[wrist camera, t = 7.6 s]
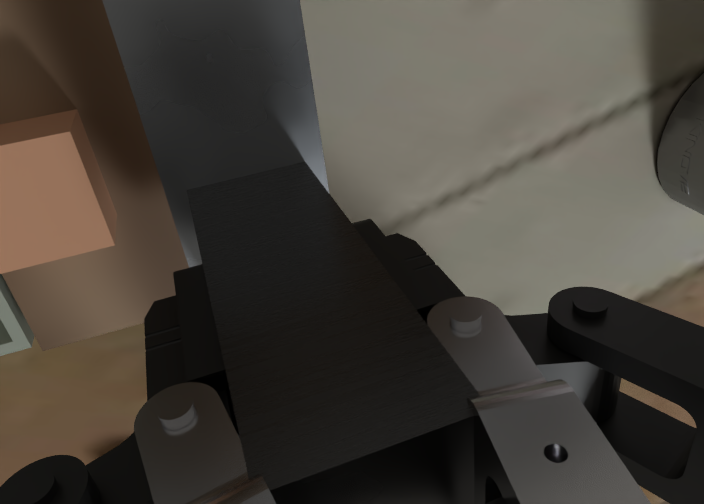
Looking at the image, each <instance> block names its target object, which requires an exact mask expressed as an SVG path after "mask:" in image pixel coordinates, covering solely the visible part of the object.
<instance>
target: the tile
mask: <svg viewBox="0 0 704 504" xmlns="http://www.w3.org/2000/svg"><path fill="white" fill-rule="evenodd" d="M116 221H117V213H116V210H115V208H114V205H113V203H112V200H111V197H110V195H109V192H108V189H107V187H106V184H105V181H104V179H103V176H102V174H101V171H100V168H99V166H98V163H97V160H96V158H95V155H94V152H93V150H92V147H91V145H90V142H89V139H88V137H87V134H86V131H85V129H84V126H83V123H82V121H81V118H80V116H79V113H78V110H77V109H76V110H71V111H65V112H60V113H55V114H50V115H45V116H40V117H35V118H30V119H25V120H20V121H15V122H10V123H5V124H0V274H2V273H6V272H10V271H14V270H18V269H22V268H26V267H30V266H34V265H38V264H42V263H46V262H50V261H54V260H58V259H62V258H66V257H70V256H74V255H78V254H82V253H86V252H90V251H94V250H98V249H102V248H106V247H110V246H114V245H115V237H116Z"/></svg>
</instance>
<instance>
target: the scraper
mask: <svg viewBox="0 0 704 504" xmlns="http://www.w3.org/2000/svg"><path fill="white" fill-rule="evenodd" d="M102 1H103V4H104V7H105V10H106V13H107V16H108V20H109V23H110V26H111V29H112V32H113V35H114V38H115V41H116V44H117V47H118V50H119V53H120V56H121V59H122V63H123V66H124V69H125V72H126V75H127V78H128V81H129V84H130V87H131V90H132V93H133V96H134V99H135V103H136V106H137V109H138V112H139V115H140V118H141V121H142V124H143V127H144V130H145V133H146V136H147V139H148V143H149V146H150V149H151V152H152V155H153V158H154V161H155V164H156V167H157V170H158V173H159V176H160V179H161V182H162V186H163V189H164V192H165V195H166V198H167V201H168V204H169V207H170V210H171V213H172V216H173V219H174V222H175V226H176V229H177V232H178V235H179V238H180V241H181V244H182V247H183V250H184V253H185V256H186V259H187V262H188V266H189V267H193V266H197V265H201V264H203V269H204V273H205V278H206V283H207V287H208V292H209V297H210V301H211V306H212V310H213V315H214V320H215V324H216V329H217V334H218V338H219V343H220V347H221V352H222V357H223V361H224V366H225V371H226V375H227V380H228V384H229V389H230V394H231V398H232V403H233V408H234V412H235V417H236V421H237V426H238V431H239V435H240V440H241V445H242V449H243V454H244V458H245V463H246V468H247V472H248V477H249V478H251V477H253V476H255V475H257V474H259V473H260V474H261V475H262V477H263V479H264V481H265V482H266V484H267V486H268V488H269V490H270V492H271V494H272V496H273V498H274V500H275V502H276V504H474V415H473V412H472V410H471V408H470V406H469V403H468V401H467V398H472V397H477V396H480V394H479V393H478V392H477V390H476V389H475V388H474V386H473V385H472V384H471V382H470V381H469V380H468V378H467V377H466V376H465V374H464V373H463V372H462V370H461V369H460V368H459V366H458V365H457V364H456V362H455V361H454V360H453V358H452V357H451V356H450V354H449V353H448V352H447V350H446V349H445V348H444V346H443V345H442V344H441V342H440V341H439V340H438V338H437V337H436V336H435V334H434V333H433V332H432V330H431V329H430V328H429V326H428V325H427V324H426V322H425V321H424V320H423V318H422V317H421V316H420V314H419V313H418V312H417V310H416V309H415V308H414V306H413V305H412V304H411V302H410V301H409V300H408V298H407V297H406V296H405V294H404V293H403V292H402V290H401V289H400V288H399V286H398V285H397V284H396V282H395V281H394V280H393V278H392V277H391V276H390V274H389V273H388V272H387V270H386V269H385V268H384V266H383V265H382V264H381V262H380V261H379V260H378V258H377V257H376V256H375V254H374V253H373V252H372V250H371V249H370V248H369V246H368V245H367V243H366V242H365V241H364V239H363V238H362V237H361V235H360V234H359V233H358V231H357V230H356V229H355V227H354V226H353V225H352V223H351V222H350V221H349V219H348V218H347V217H346V215H345V214H344V213H343V211H342V210H341V209H340V207H339V206H338V205H337V203H336V202H335V201H334V199H333V198H332V197H331V195H330V194H329V188H328V181H327V175H326V168H325V162H324V155H323V149H322V142H321V136H320V129H319V123H318V116H317V110H316V103H315V97H314V90H313V84H312V77H311V71H310V64H309V58H308V51H307V45H306V39H305V32H304V26H303V19H302V13H301V6H300V0H102Z"/></svg>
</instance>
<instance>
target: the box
mask: <svg viewBox="0 0 704 504" xmlns="http://www.w3.org/2000/svg"><path fill="white" fill-rule="evenodd" d="M33 339H34V334H33V332H32V330H31V328H30V326H29V324H28V322H27V321H26V319H25V317H24V315H23V313H22V311H21V309H20V307H19V306H18V304H17V302H16V300H15V298H14V296H13V294H12V293H11V291H10V289H9V287H8V285H7V283H6V281H5V279H4V278H3V276H2V274H0V356H2V355H5V354H9V353H13V352H16V351H20V350H23V349H27V348H31V347H32V343H33Z"/></svg>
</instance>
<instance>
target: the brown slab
mask: <svg viewBox="0 0 704 504" xmlns="http://www.w3.org/2000/svg"><path fill="white" fill-rule="evenodd" d="M76 109H77V110H78V113H79V116H80V118H81V121H82V123H83V126H84V129H85V131H86V134H87V137H88V139H89V142H90V145H91V147H92V150H93V152H94V155H95V158H96V160H97V163H98V166H99V168H100V171H101V174H102V176H103V179H104V181H105V184H106V187H107V189H108V192H109V195H110V197H111V200H112V203H113V205H114V208H115V210H116V213H117V221H116V237H115V245H114V246H110V247H106V248H102V249H98V250H94V251H90V252H86V253H82V254H78V255H74V256H70V257H66V258H62V259H58V260H54V261H50V262H46V263H42V264H38V265H34V266H30V267H26V268H22V269H18V270H14V271H10V272H6V273H2V276H3V278H4V279H5V281H6V283H7V285H8V287H9V289H10V291H11V293H12V294H13V296H14V298H15V300H16V302H17V304H18V306H19V307H20V309H21V311H22V313H23V315H24V317H25V319H26V321H27V322H28V324H29V326H30V328H31V330H32V332H33V334H34V335H35V337H36V339H37V341H38V343H39V345H40V347H41V349H42V350H43V351H45V350H49V349H52V348H56V347H59V346H63V345H67V344H70V343H74V342H77V341H81V340H84V339H88V338H92V337H95V336H99V335H102V334H106V333H109V332H113V331H116V330H120V329H124V328H127V327H131V326H134V325H138V324H141V323H144V318H145V316H146V315H147V313H148V311H149V309H150V308H151V306H152V304H153V302H154V301H157V300H161V299H164V298H168V297H171V296H175V295H176V292H175V285H174V277H173V272H175V271H178V270H182V269H186V268H189V266H188V262H187V259H186V256H185V253H184V250H183V247H182V244H181V241H180V238H179V235H178V232H177V229H176V226H175V222H174V219H173V216H172V213H171V210H170V207H169V204H168V201H167V198H166V195H165V192H164V189H163V186H162V182H161V179H160V176H159V173H158V170H157V167H156V164H155V161H154V158H153V155H152V152H151V149H150V146H149V143H148V139H147V136H146V133H145V130H144V127H143V124H142V121H141V118H140V115H139V112H138V109H137V106H136V103H135V99H134V96H133V93H132V90H131V87H130V84H129V81H128V78H127V75H126V72H125V69H124V66H123V63H122V59H121V56H120V53H119V50H118V47H117V44H116V41H115V38H114V35H113V32H112V29H111V26H110V23H109V20H108V16H107V13H106V10H105V7H104V4H103V1H102V0H0V124H5V123H10V122H15V121H20V120H25V119H30V118H35V117H40V116H45V115H50V114H55V113H60V112H65V111H71V110H76Z"/></svg>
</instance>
